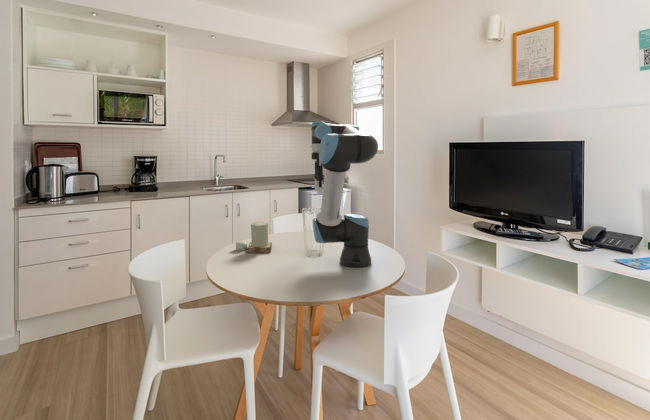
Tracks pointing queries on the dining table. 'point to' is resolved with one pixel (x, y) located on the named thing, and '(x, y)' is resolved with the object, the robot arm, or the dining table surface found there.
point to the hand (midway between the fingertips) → (318, 192)
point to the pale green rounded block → (241, 246)
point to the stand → (259, 249)
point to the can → (259, 234)
